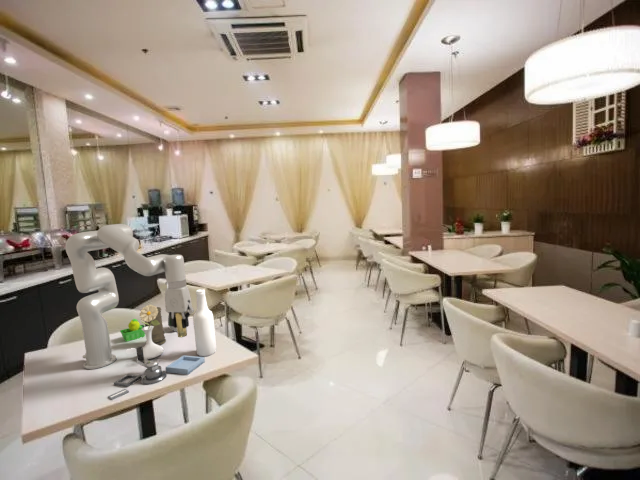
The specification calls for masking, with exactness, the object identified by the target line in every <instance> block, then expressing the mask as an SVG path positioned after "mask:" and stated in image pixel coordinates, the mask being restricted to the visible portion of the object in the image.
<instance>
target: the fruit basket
mask: <svg viewBox="0 0 640 480" xmlns="http://www.w3.org/2000/svg"><path fill="white" fill-rule="evenodd" d="M127 327H128V328H125V329H121V330H120V333H121V335H122V339H123V340H124V342H130V341H134V340H137V338H138V339H140V337H142V338H144V336H145V337H146V335H145V333H144V331H143V330H142V328H144V327H145V324H141V323H140V322H139V321H138V319H136V318H133V319H131V320H130V321H129V323H128V325H127Z"/></svg>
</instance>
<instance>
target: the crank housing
mask: <svg viewBox="0 0 640 480" xmlns="http://www.w3.org/2000/svg"><path fill="white" fill-rule="evenodd" d="M162 369H163V368H162V366H161V365H158V369H156V370H154V371H152V370H150V369H148V368H146V369H145V370H144V376H143V377H142V375H140V374H130V373H127V374H125V375H124V376H122V377H121V378H119V379H117V380H115V381H114V382H113V386H115V387H124V388H129V387H130V386H132V385H134V384H135V383H137V382H138V381H139V380H141V384H143V385H154V384H157V383H160V382H162V381H164V380H165V379H166V378H167V372H166V371H164V370H162ZM128 379H131V380H129V381H128V382H127V381H126V380H128Z"/></svg>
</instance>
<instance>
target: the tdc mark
mask: <svg viewBox="0 0 640 480" xmlns="http://www.w3.org/2000/svg"><path fill="white" fill-rule="evenodd" d="M128 393H130V391H129V390H128V389H126V388H123V389H121V390H119V391H117V392H115V393H112V394H110V395H108V396H107V398H108V399H110V400H112V401H113V400H115V399H116V398H119V397H122V396H123V395H125V394H128Z"/></svg>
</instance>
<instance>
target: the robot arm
mask: <svg viewBox="0 0 640 480" xmlns="http://www.w3.org/2000/svg"><path fill="white" fill-rule="evenodd" d="M139 241H140V240H138V239H137V238H135V237H134V232H133V229H132V228H131V227H130V226H129V225H127V224H124V223H116V224H113V223H112V224H105V225H103V226H101V227H100V228H99V229H98V230H91V231H82V232H77V233H74V234H73V235H71V236H70V237H68V238H67V240H66V242H65V252H66V254H67V256H68V259H69V262H70V265H71V269H72V270H71V271H72V275H73V278H74V282H75V286H76V289H77V290H78V292H79V293H81V294H87V293H88V294H89V293H91V292H96V291H98V292H96V293H92V294H89V295H87V296H84V297H82V298H80V300H78V302H77V304H76V311H77V314H78V317H79V319H80V323H81V324H80V325H81V327H82V328H81V329H82V334H83V340H84V348H85V354H84V355H82V359H85V361H84V363H83V368H84V369H86V370H96V369H100V368H104V367H107V366H109V365H111V364H113V363H114V362H115V361H117V355H116V354H113V353H112V346H111V338H110V330H109V324H108V320H107V319H106V318H105V317H104V316H103V314H104V313H106V312H108V311H111V310H114V309H115V308H116V307H117V306H118V305H119V301H120V299H119V292H118V288H117V287H118V286H117V284H116V283H117V282H116V279H115V275H114V273H113V271H111V269H109V268H108V267H98V268H97V267H96V263H95V260H94V258H93V256H92V255H91V254H90V253H89V252H91V251H98V250H104V249H109V248H110V249H112V250H114V251H115V252H116V253H119V254H120V255H122V256H123V259H124V262H125V263H126V265H127V266H128V267H129V268H130V269H131V270H133V271H134V272H137V274H140V275H142V276H144V277H152V276H155V275H159V274H162V273H165V280H166V281H165V282H164V283H165V285H166V288H165V293H164V304H165V312H166V313H168V315H169V314H170V315H171V317H172V319H173V322H174V328H176V327H177V324H176V316H175V312H176V313H182V317H183V319H182V327H183V328H186V329H187V327H189V326H190V324H189V323H190V322H189V317H190V316H191V315H192V313H193V314H194V313H195V309H194V307H193V306H192V305H193V304H192V298H191V293H190V292H191V291H190V289H189V287H188V286H187V278H186V269H185V268H186V267H185V260H184V256H183V255H182V254H166V253H165V254H161V253H160V254H157V255H152V256H149V257H146V256H145V255H143V254H141V253H139V252H138V250H139V248H140V242H139ZM185 313H186V314H185Z"/></svg>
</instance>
